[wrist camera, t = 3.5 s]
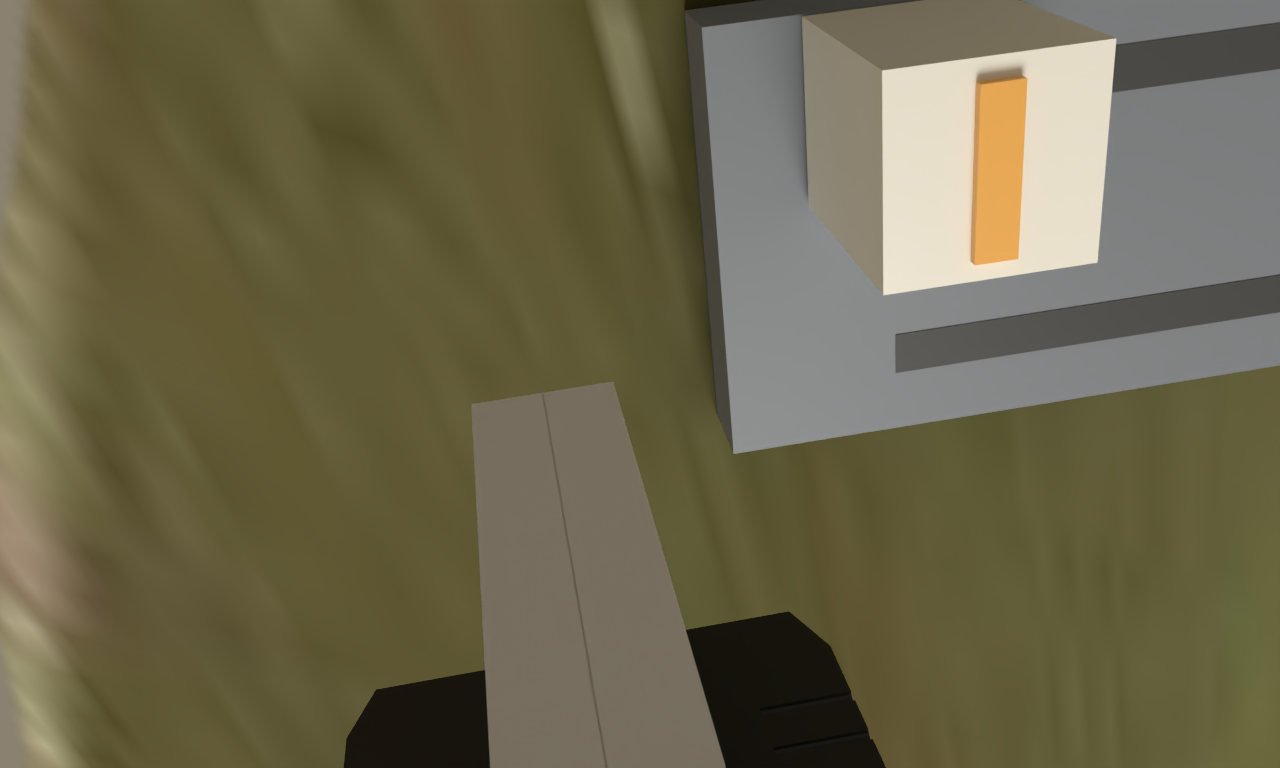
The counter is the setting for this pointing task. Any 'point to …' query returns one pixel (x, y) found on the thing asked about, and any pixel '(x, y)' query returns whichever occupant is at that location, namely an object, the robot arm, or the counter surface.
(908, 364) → the console
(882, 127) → the fader
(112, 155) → the counter surface
